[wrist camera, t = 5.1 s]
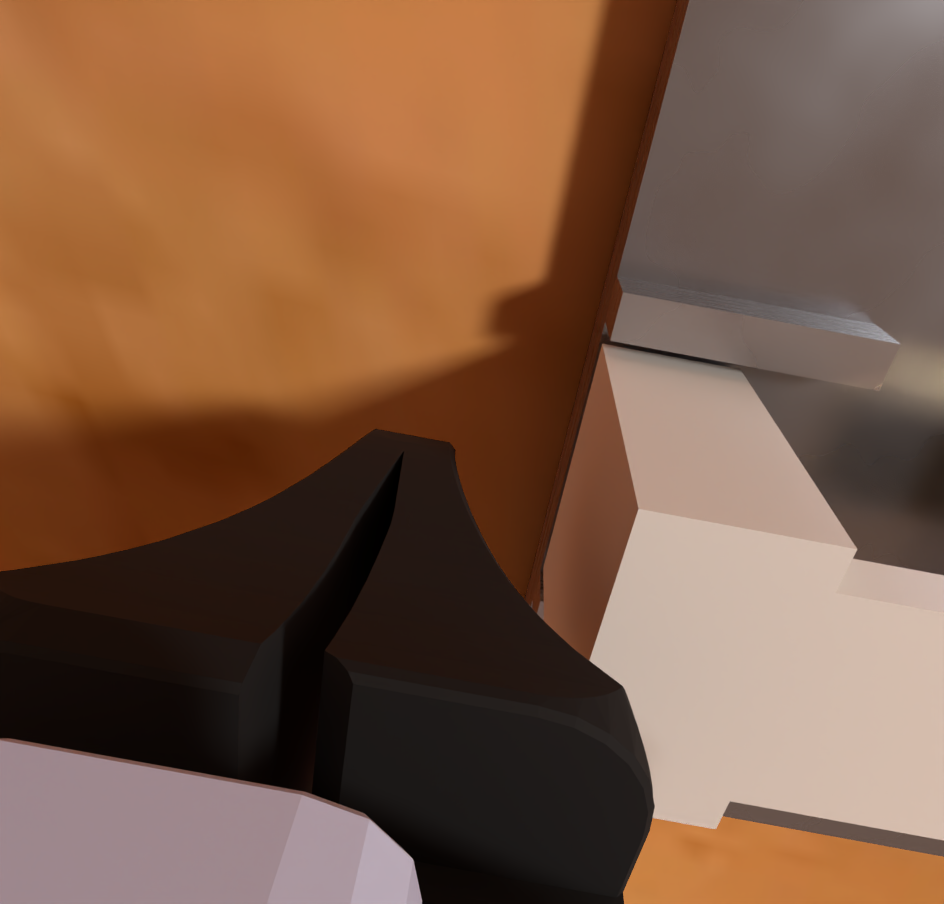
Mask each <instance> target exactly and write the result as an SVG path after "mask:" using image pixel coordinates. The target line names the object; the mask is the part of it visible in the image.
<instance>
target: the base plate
mask: <svg viewBox="0 0 944 904" xmlns="http://www.w3.org/2000/svg"><path fill="white" fill-rule="evenodd" d="M602 344H607V345H613V346H618V347H623V348H629V349H634V350H639V351H645V352H650V353H655V354H661V355H666V356H671V357H677V358H682V359H688V360H693V361H698V362H704V363H709V364H714V365H720V366H725V367H730V368H736V369H741V371H742V373H743V374H744V376H745V377H746V379H747V380H748V382H749V383H750V385H751V386H752V388H753V389H754V391H755V393H756V394H757V396H758V397H759V399H760V400H761V402H762V403H763V405H764V406H765V408H766V409H767V411H768V413H769V414H770V416H771V417H772V419H773V420H774V422H775V423H776V425H777V426H778V428H779V429H780V431H781V433H782V434H783V436H784V437H785V439H786V440H787V442H788V443H789V445H790V446H791V448H792V449H793V451H794V453H795V454H796V456H797V457H798V459H799V460H800V462H801V463H802V465H803V466H804V468H805V469H806V471H807V473H808V474H809V476H810V477H811V479H812V480H813V482H814V483H815V485H816V486H817V488H818V489H819V491H820V493H821V494H822V496H823V497H824V499H825V500H826V502H827V503H828V505H829V506H830V508H831V509H832V511H833V513H834V514H835V516H836V517H837V519H838V520H839V522H840V523H841V525H842V526H843V528H844V529H845V531H846V533H847V534H848V536H849V537H850V539H851V540H852V542H853V543H854V545H855V546H856V548H857V551H856V553H855V555H854V557H853V559H858V560H863V561H869V562H874V563H880V564H885V565H890V566H896V567H901V568H907V569H912V570H917V571H923V572H928V573H934V574H939V575H944V0H677V2H676V6H675V10H674V14H673V18H672V22H671V26H670V30H669V34H668V38H667V42H666V46H665V50H664V53H663V57H662V61H661V65H660V69H659V73H658V77H657V81H656V85H655V89H654V93H653V97H652V101H651V104H650V108H649V112H648V116H647V120H646V124H645V128H644V132H643V136H642V140H641V144H640V148H639V152H638V156H637V159H636V163H635V167H634V171H633V175H632V179H631V183H630V187H629V191H628V195H627V199H626V203H625V207H624V210H623V214H622V218H621V222H620V226H619V230H618V234H617V238H616V242H615V246H614V250H613V254H612V258H611V262H610V265H609V269H608V273H607V277H606V281H605V285H604V289H603V293H602V297H601V301H600V305H599V309H598V313H597V317H596V320H595V324H594V328H593V332H592V336H591V340H590V344H589V348H588V352H587V356H586V360H585V364H584V368H583V371H582V375H581V379H580V383H579V387H578V391H577V395H576V399H575V403H574V407H573V411H572V415H571V419H570V423H569V426H568V430H567V434H566V438H565V442H564V446H563V450H562V454H561V458H560V462H559V466H558V470H557V474H556V477H555V481H554V485H553V489H552V493H551V497H550V501H549V505H548V509H547V513H546V517H545V521H544V525H543V529H542V532H541V536H540V540H539V544H538V548H537V552H536V556H535V560H534V564H533V568H532V572H531V576H530V580H529V583H528V587H527V591H526V595H525V599H524V600H525V601H526V602H527V603H528V604H529V605H530V606H531V608H532V609H533V610H534V611H535V612H536V613H537V614H538V615H539V616H540V617H541V618H542V619H543V621H544V584H543V567H544V563H545V559H546V555H547V552H548V548H549V544H550V540H551V536H552V533H553V529H554V525H555V521H556V517H557V514H558V510H559V506H560V502H561V498H562V495H563V491H564V487H565V483H566V480H567V476H568V472H569V468H570V464H571V461H572V457H573V453H574V449H575V445H576V442H577V438H578V434H579V430H580V426H581V423H582V419H583V415H584V411H585V407H586V404H587V400H588V396H589V392H590V388H591V385H592V381H593V377H594V373H595V369H596V366H597V362H598V358H599V354H600V350H601V347H602ZM723 816H725V817H731V818H736V819H742V820H747V821H753V822H758V823H764V824H769V825H774V826H780V827H785V828H791V829H796V830H802V831H807V832H813V833H818V834H824V835H829V836H835V837H840V838H845V839H851V840H856V841H862V842H867V843H873V844H878V845H884V846H889V847H895V848H900V849H905V850H911V851H916V852H922V853H927V854H933V855H938V856H944V840H938V839H933V838H927V837H922V836H917V835H911V834H906V833H900V832H895V831H889V830H884V829H878V828H873V827H867V826H862V825H857V824H851V823H846V822H840V821H835V820H829V819H824V818H818V817H813V816H807V815H802V814H797V813H791V812H786V811H780V810H775V809H769V808H764V807H758V806H753V805H747V804H742V803H737V802H731V801H730V802H729V804H728V806H727V808H726V810H725V812H724V814H723Z"/></svg>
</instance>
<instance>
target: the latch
mask: <svg viewBox="0 0 944 904" xmlns="http://www.w3.org/2000/svg"><path fill="white" fill-rule="evenodd" d="M856 551H857V548H856V546H855V545H854V543H853V542H852V540H851V539H850V537H849V536H848V534H847V533H846V531H845V529H844V528H843V526H842V525H841V523H840V522H839V520H838V519H837V517H836V516H835V514H834V513H833V511H832V509H831V508H830V506H829V505H828V503H827V502H826V500H825V499H824V497H823V496H822V494H821V493H820V491H819V489H818V488H817V486H816V485H815V483H814V482H813V480H812V479H811V477H810V476H809V474H808V473H807V471H806V469H805V468H804V466H803V465H802V463H801V462H800V460H799V459H798V457H797V456H796V454H795V453H794V451H793V449H792V448H791V446H790V445H789V443H788V442H787V440H786V439H785V437H784V436H783V434H782V433H781V431H780V429H779V428H778V426H777V425H776V423H775V422H774V420H773V419H772V417H771V416H770V414H769V413H768V411H767V409H766V408H765V406H764V405H763V403H762V402H761V400H760V399H759V397H758V396H757V394H756V393H755V391H754V389H753V388H752V386H751V385H750V383H749V382H748V380H747V379H746V377H745V376H744V374H743V373H742V371H741V369H736V368H730V367H725V366H720V365H714V364H709V363H704V362H698V361H693V360H688V359H682V358H677V357H671V356H666V355H661V354H655V353H650V352H645V351H639V350H634V349H629V348H623V347H618V346H613V345H607V344H602V347H601V350H600V354H599V358H598V362H597V366H596V369H595V373H594V377H593V381H592V385H591V388H590V392H589V396H588V400H587V404H586V407H585V411H584V415H583V419H582V423H581V426H580V430H579V434H578V438H577V442H576V445H575V449H574V453H573V457H572V461H571V464H570V468H569V472H568V476H567V480H566V483H565V487H564V491H563V495H562V498H561V502H560V506H559V510H558V514H557V517H556V521H555V525H554V529H553V533H552V536H551V540H550V544H549V548H548V552H547V555H546V559H545V563H544V567H543V584H544V622H545V623H546V624H547V625H548V626H550V627H551V628H552V629H553V630H554V631H555V632H556V633H557V634H558V635H559V636H560V637H561V638H563V639H564V640H565V641H566V642H567V643H568V644H569V645H570V646H571V647H572V648H574V649H575V650H576V651H577V652H578V653H580V654H581V655H582V656H584V657H585V658H586V659H588V660H589V661H590V662H592V663H593V664H594V665H596V666H597V667H598V668H600V669H601V670H602V671H604V672H605V673H606V674H608V675H609V676H610V677H612V678H613V679H614V680H615V681H617V682H618V683H619V684H621V685H622V686H623V687H624V689H625V691H626V694H627V697H628V699H629V702H630V705H631V708H632V711H633V714H634V717H635V720H636V722H637V725H638V729H639V732H640V735H641V738H642V742H643V745H644V748H645V752H646V756H647V760H648V764H649V768H650V774H651V780H652V787H653V800H654V805H655V808H654V813H653V817H652V818H656V819H662V820H667V821H673V822H678V823H684V824H689V825H695V826H700V827H706V828H711V829H716V828H717V826H718V824H719V822H720V820H721V818H722V816H723V814H724V812H725V810H726V808H727V806H728V804H729V802H730V801H731V802H737V803H742V804H747V805H753V806H758V807H764V808H769V809H775V810H780V811H786V812H791V813H797V814H802V815H807V816H813V817H818V818H824V819H829V820H835V821H840V822H846V823H851V824H857V825H862V826H867V827H873V828H878V829H884V830H889V831H895V832H900V833H906V834H911V835H917V836H922V837H927V838H933V839H938V840H944V575H939V574H934V573H928V572H923V571H917V570H912V569H907V568H901V567H896V566H890V565H885V564H880V563H874V562H869V561H863V560H858V559H853V557H854V555H855V553H856Z"/></svg>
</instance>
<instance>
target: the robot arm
mask: <svg viewBox="0 0 944 904" xmlns="http://www.w3.org/2000/svg"><path fill="white" fill-rule="evenodd" d="M654 808H655V805H654V800H653V787H652V780H651V774H650V768H649V764H648V760H647V756H646V752H645V748H644V745H643V742H642V738H641V735H640V732H639V729H638V725H637V722H636V720H635V717H634V714H633V711H632V708H631V705H630V702H629V699H628V697H627V694H626V691H625V689H624V687H623V686H622V685H621V684H619V683H618V682H617V681H615V680H614V679H613V678H612V677H610V676H609V675H608V674H606V673H605V672H604V671H602V670H601V669H600V668H598V667H597V666H596V665H594V664H593V663H592V662H590V661H589V660H588V659H586V658H585V657H584V656H582V655H581V654H580V653H578V652H577V651H576V650H575V649H574V648H572V647H571V646H570V645H569V644H568V643H567V642H566V641H565V640H564V639H563V638H561V637H560V636H559V635H558V634H557V633H556V632H555V631H554V630H553V629H552V628H551V627H550V626H548V625H547V624H546V623H545V622H544V621H543V619H542V618H541V617H540V616H539V615H538V614H537V613H536V612H535V611H534V610H533V609H532V608H531V606H530V605H529V604H528V603H527V602H526V601H525V600H524V598H523V597H522V596H521V595H520V594H519V593H518V591H517V590H516V589H515V588H514V586H513V585H512V584H511V582H510V581H509V580H508V578H507V577H506V575H505V574H504V572H503V571H502V569H501V568H500V566H499V565H498V563H497V562H496V560H495V558H494V557H493V555H492V553H491V552H490V550H489V548H488V546H487V544H486V543H485V541H484V539H483V537H482V535H481V533H480V531H479V529H478V527H477V525H476V522H475V520H474V518H473V516H472V513H471V511H470V508H469V506H468V503H467V500H466V498H465V495H464V492H463V489H462V486H461V483H460V479H459V476H458V472H457V467H456V462H455V449H454V448H453V446H452V445H451V444H450V443H449V442H444V441H438V440H433V439H427V438H422V437H417V436H411V435H406V434H400V433H395V432H389V431H384V430H378V429H375V430H373V431H372V432H370V433H369V434H367V435H366V436H364V437H363V438H361V439H360V440H359V441H357V442H356V443H355V444H353V445H352V446H351V447H349V448H348V449H347V450H345V451H344V452H343V453H341V454H340V455H338V456H337V457H336V458H334V459H333V460H331V461H330V462H329V463H327V464H326V465H324V466H323V467H321V468H320V469H318V470H317V471H315V472H314V473H312V474H311V475H309V476H308V477H306V478H305V479H303V480H301V481H300V482H298V483H296V484H294V485H293V486H291V487H289V488H288V489H286V490H284V491H283V492H281V493H279V494H277V495H276V496H274V497H272V498H270V499H268V500H266V501H264V502H262V503H260V504H258V505H256V506H254V507H251V508H249V509H247V510H245V511H242V512H240V513H238V514H235V515H233V516H231V517H229V518H226V519H224V520H221V521H219V522H216V523H213V524H210V525H207V526H204V527H201V528H198V529H195V530H192V531H189V532H187V533H184V534H181V535H178V536H175V537H172V538H169V539H166V540H162V541H159V542H155V543H151V544H148V545H144V546H140V547H136V548H132V549H128V550H124V551H119V552H115V553H111V554H106V555H102V556H97V557H92V558H87V559H82V560H76V561H70V562H63V563H57V564H50V565H43V566H37V567H30V568H24V569H17V570H10V571H1V572H0V904H624V899H623V891H624V888H625V886H626V884H627V881H628V879H629V877H630V875H631V872H632V870H633V868H634V865H635V863H636V861H637V859H638V856H639V854H640V852H641V849H642V847H643V845H644V842H645V840H646V838H647V836H648V833H649V831H650V826H651V822H652V817H653V813H654Z"/></svg>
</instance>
